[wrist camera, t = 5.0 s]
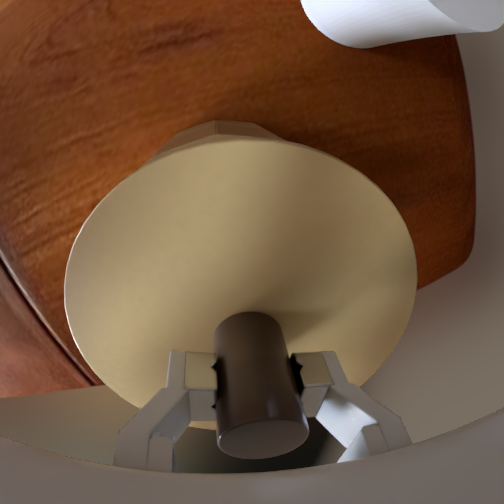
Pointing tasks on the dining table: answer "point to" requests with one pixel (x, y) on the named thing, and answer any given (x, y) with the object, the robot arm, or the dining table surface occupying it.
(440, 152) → the dining table surface
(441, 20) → the white cylinder
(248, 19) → the dining table surface
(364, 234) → the basket lid
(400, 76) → the dining table surface
